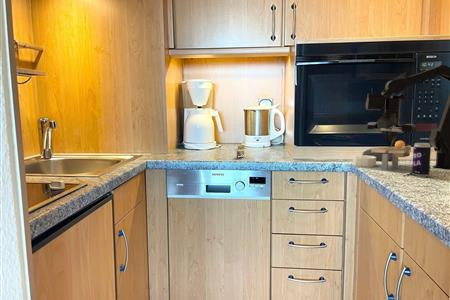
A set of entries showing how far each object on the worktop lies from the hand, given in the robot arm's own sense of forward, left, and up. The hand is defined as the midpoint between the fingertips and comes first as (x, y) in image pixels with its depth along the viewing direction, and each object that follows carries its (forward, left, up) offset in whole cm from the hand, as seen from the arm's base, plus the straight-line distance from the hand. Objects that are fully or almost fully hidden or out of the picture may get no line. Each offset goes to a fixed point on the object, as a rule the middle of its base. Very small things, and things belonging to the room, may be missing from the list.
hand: (389, 147), depth 156 cm
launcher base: (+10, +2, -8) cm, 13 cm away
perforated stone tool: (-8, -8, -8) cm, 14 cm away
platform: (+28, -62, -9) cm, 68 cm away
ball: (+10, +9, +2) cm, 14 cm away
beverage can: (+12, +17, -8) cm, 22 cm away
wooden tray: (+6, +5, -2) cm, 9 cm away
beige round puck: (+10, -6, -7) cm, 14 cm away
